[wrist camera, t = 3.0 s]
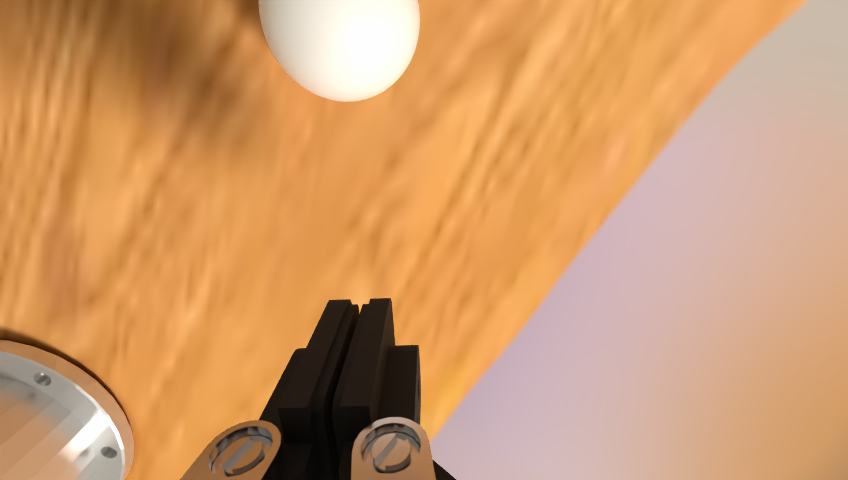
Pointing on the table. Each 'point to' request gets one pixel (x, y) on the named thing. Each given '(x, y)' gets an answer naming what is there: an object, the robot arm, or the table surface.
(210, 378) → the table surface
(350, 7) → the cue ball
